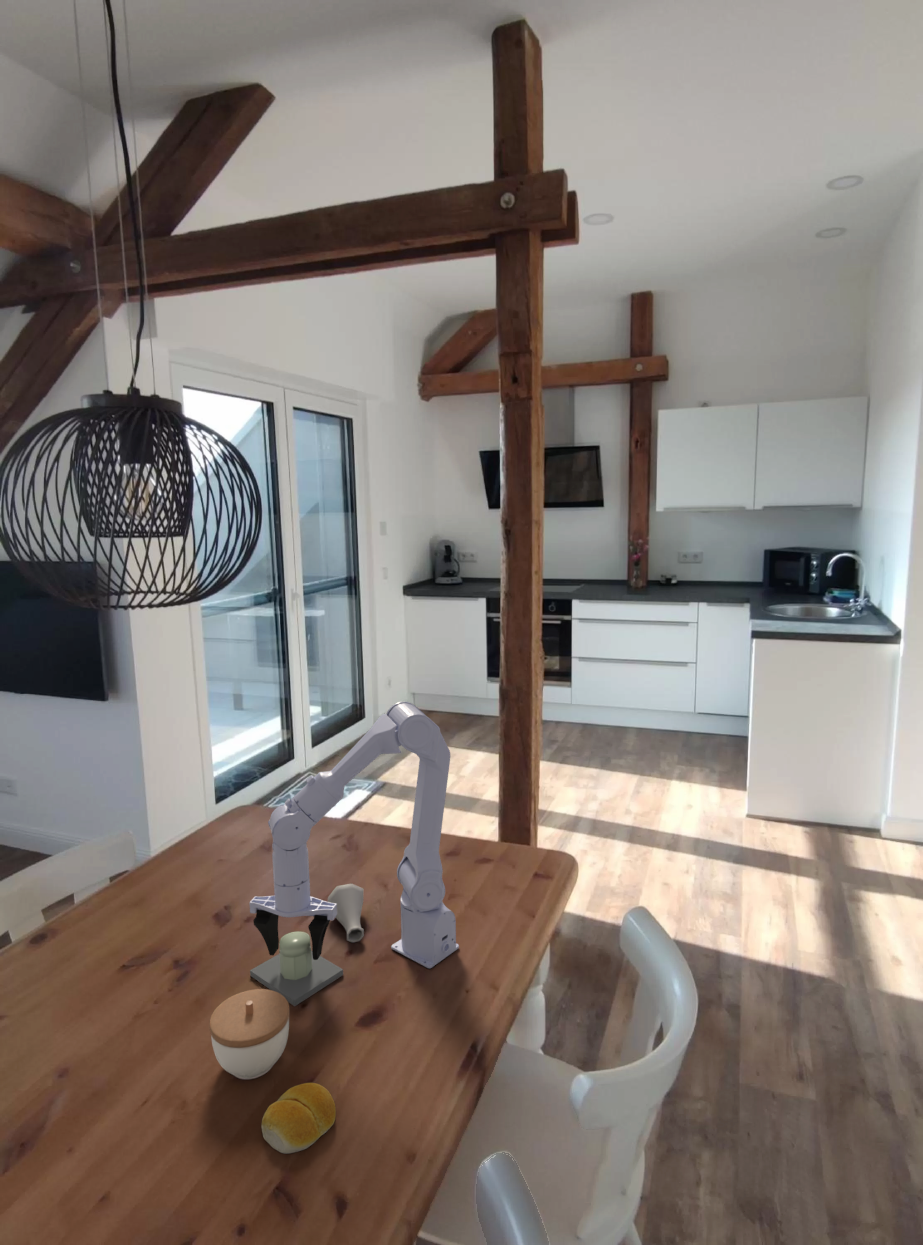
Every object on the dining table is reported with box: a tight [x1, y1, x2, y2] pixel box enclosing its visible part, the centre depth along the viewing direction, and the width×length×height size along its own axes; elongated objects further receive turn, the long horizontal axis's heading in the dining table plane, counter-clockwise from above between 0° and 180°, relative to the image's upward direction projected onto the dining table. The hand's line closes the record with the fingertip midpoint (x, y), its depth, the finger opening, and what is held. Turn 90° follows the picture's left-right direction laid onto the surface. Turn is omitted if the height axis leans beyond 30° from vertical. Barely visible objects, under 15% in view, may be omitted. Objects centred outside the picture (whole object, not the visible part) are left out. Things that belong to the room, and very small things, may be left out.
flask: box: [327, 883, 365, 944], centre depth 134 cm, size 7×7×10 cm
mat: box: [249, 950, 344, 1007], centre depth 121 cm, size 12×10×1 cm
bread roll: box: [261, 1082, 337, 1155], centre depth 92 cm, size 8×9×4 cm
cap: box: [278, 931, 312, 980], centre depth 120 cm, size 5×5×6 cm
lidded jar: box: [209, 988, 290, 1081], centre depth 101 cm, size 11×11×9 cm
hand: (295, 954), depth 121 cm, fingers open, 7 cm apart
